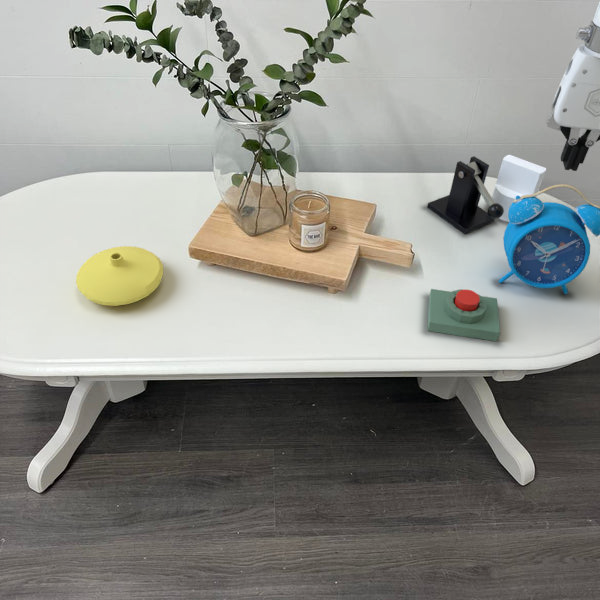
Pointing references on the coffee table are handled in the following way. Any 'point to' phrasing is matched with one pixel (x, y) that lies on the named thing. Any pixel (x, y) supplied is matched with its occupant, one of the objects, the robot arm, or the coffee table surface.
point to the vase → (119, 275)
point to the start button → (467, 300)
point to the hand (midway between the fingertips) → (569, 165)
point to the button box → (463, 316)
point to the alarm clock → (548, 240)
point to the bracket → (463, 199)
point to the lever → (486, 194)
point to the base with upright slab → (516, 181)
